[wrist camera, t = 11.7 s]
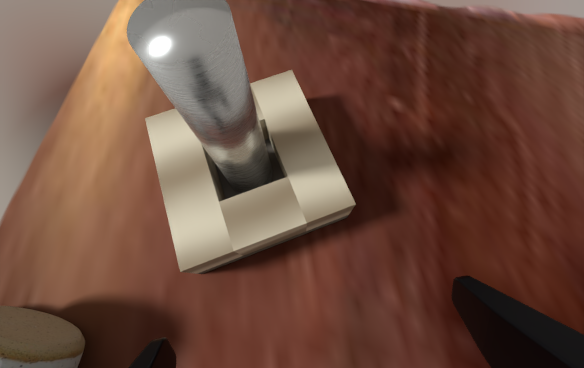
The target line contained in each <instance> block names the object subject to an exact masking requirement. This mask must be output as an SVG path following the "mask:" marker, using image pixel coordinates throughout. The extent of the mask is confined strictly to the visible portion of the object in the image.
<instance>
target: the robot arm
mask: <svg viewBox="0 0 584 368" xmlns="http://www.w3.org/2000/svg"><path fill="white" fill-rule="evenodd" d="M452 301H453V304H454V306H455V307H456V309H457V311H458V313H459V315H460V316H461V318H462V320H463V322H464V323H465V325H466V327H467V329H468V330H469V332H470V334H471V336H472V337H473V339H474V341H475V343H476V344H477V346H478V348H479V350H480V351H481V353H482V354H483V356H484V357H485V359H486V360H487V362H488V363H489V365H490V366H491V368H584V335H583V334H581V333H579V332H577V331H575V330H573V329H571V328H570V327H568V326H566V325H564V324H562V323H560V322H558V321H556V320H554V319H552V318H550V317H548V316H546V315H544V314H542V313H540V312H538V311H536V310H535V309H533V308H531V307H529V306H527V305H525V304H523V303H521V302H519V301H517V300H515V299H513V298H511V297H509V296H507V295H505V294H503V293H502V292H500V291H498V290H496V289H494V288H492V287H490V286H488V285H486V284H484V283H482V282H480V281H478V280H476V279H474V278H472V277H470V276H461V277H456V278H455V279H454V281H453V288H452ZM129 368H176V354H175V352H174V350H173V348H172V346H171V344H170V342H169V341H168V339H167V338H159V339H154V340H152V341H151V342H150V343H149V344H148V345H147V346H146V347H145V348H144V350H143V351H142V352H141V353H140V354H139V356H138V357H137V358H136V359H135V360H134V362H133V363H132V364H131V365H130V366H129Z"/></svg>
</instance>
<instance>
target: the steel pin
mask: <svg viewBox="0 0 584 368" xmlns="http://www.w3.org/2000/svg"><path fill="white" fill-rule="evenodd" d="M127 36H128V40H129V43H130V45H131V46H132V48H133V49H134V51H135V52H136V54H137V55H138V56H139V58H140V59H141V61H142V62H143V63H144V65H145V66H146V68H147V69H148V70H149V72H150V73H151V75H152V76H153V77H154V79H155V80H156V81H157V83H158V84H159V86H160V87H161V88H162V90H163V91H164V93H165V94H166V95H167V97H168V98H169V100H170V101H171V102H172V104H173V105H174V107H175V108H176V109H177V111H178V112H179V114H180V115H181V116H182V118H183V119H184V120H185V122H186V123H187V125H188V126H189V127H190V129H191V130H192V132H193V133H194V134H195V136H196V137H197V139H198V140H199V141H200V143H201V144H202V146H203V147H204V148H205V150H206V151H207V152H208V154H209V155H210V157H211V158H212V159H213V161H214V162H215V164H216V165H217V166H218V168H219V169H220V171H221V172H222V173H223V175H224V176H225V178H226V179H227V180H228V182H229V183H230V185H231V186H232V187H233V188H234V189H235V190H236V191H237V192H239V193H241V194H242V193H244V192H247V191H250V190H253V189H255V188H258V187H261V186H263V185H266V184H269V183H270V182H271V180H272V175H273V171H272V167H271V163H270V159H269V155H268V151H267V147H266V144H265V140H264V136H263V132H262V128H261V125H260V121H259V117H258V113H257V109H256V106H255V102H254V98H253V94H252V90H251V87H250V83H249V79H248V75H247V71H246V67H245V64H244V60H243V56H242V52H241V48H240V45H239V41H238V37H237V33H236V29H235V26H234V22H233V18H232V14H231V10H230V8H229V5H228V4H227V2H226V1H225V0H144V1H143V2H142V3H141V4H140V5H139V6H138V7H137V8H136V9H135V11H134V12H133V14H132V15H131V17H130V19H129V22H128V26H127Z"/></svg>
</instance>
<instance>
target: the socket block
mask: <svg viewBox="0 0 584 368" xmlns="http://www.w3.org/2000/svg"><path fill="white" fill-rule="evenodd" d="M250 87H251V90H252V94H253V98H254V102H255V106H256V109H257V113H258V117H259V121H260V125H261V128H262V132H263V136H264V140H265V144H266V147H267V151H268V155H269V159H270V163H271V167H272V171H273V175H272V180H271V182H270V183H269V184H266V185H263V186H261V187H258V188H255V189H253V190H250V191H247V192H244V193H242V194H241V193H239V192H237V191H236V190H235V189H234V188H233V187H232V186H231V185H230V183H229V182H228V180H227V179H226V178H225V176H224V175H223V173H222V172H221V171H220V169H219V168H218V166H217V165H216V164H215V162H214V161H213V159H212V158H211V157H210V155H209V154H208V152H207V151H206V150H205V148H204V147H203V146H202V144H201V143H200V141H199V140H198V139H197V137H196V136H195V134H194V133H193V132H192V130H191V129H190V127H189V126H188V125H187V123H186V122H185V120H184V119H183V118H182V116H181V115H180V114H179V112H178V111H177V109H176V108H175V109H172V110H169V111H166V112H163V113H160V114H157V115H154V116H151V117H148V118H145V120H146V124H147V128H148V133H149V137H150V142H151V146H152V150H153V155H154V159H155V163H156V168H157V172H158V176H159V181H160V185H161V190H162V194H163V198H164V203H165V207H166V211H167V216H168V220H169V225H170V229H171V233H172V238H173V242H174V246H175V251H176V255H177V259H178V264H179V268H180V272H187V273H197V274H203V273H206V272H209V271H211V270H214V269H216V268H219V267H221V266H224V265H227V264H229V263H232V262H234V261H237V260H239V259H242V258H245V257H247V256H250V255H252V254H255V253H257V252H260V251H263V250H265V249H268V248H270V247H273V246H275V245H278V244H281V243H283V242H286V241H288V240H291V239H293V238H296V237H299V236H301V235H304V234H306V233H309V232H311V231H314V230H317V229H319V228H322V227H324V226H327V225H329V224H332V223H335V222H337V221H340V220H342V219H345V218H347V217H348V215H349V214H350V212H351V211H352V209H353V208H354V206H355V205H356V203H355V201H354V199H353V197H352V195H351V193H350V191H349V189H348V187H347V184H346V182H345V180H344V178H343V176H342V174H341V172H340V170H339V168H338V166H337V164H336V162H335V159H334V157H333V155H332V153H331V151H330V149H329V147H328V145H327V143H326V141H325V139H324V136H323V134H322V132H321V130H320V128H319V126H318V124H317V122H316V120H315V118H314V116H313V113H312V111H311V109H310V107H309V105H308V103H307V101H306V99H305V97H304V95H303V93H302V90H301V88H300V86H299V84H298V82H297V80H296V78H295V76H294V74H293V72H292V70H290V71H287V72H284V73H281V74H278V75H275V76H272V77H269V78H266V79H263V80H260V81H257V82H254V83H251V84H250Z"/></svg>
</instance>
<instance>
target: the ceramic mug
mask: <svg viewBox="0 0 584 368" xmlns="http://www.w3.org/2000/svg"><path fill="white" fill-rule="evenodd" d="M84 347H85V340H84V337H83V335H82V333H81V331H80V330H79V329H78V328H77V327H76V326H74V325H73V324H72V323H70V322H68V321H66V320H64V319H62V318H59V317H57V316H54V315H51V314H48V313H44V312H40V311H36V310H32V309H27V308H20V307H12V306H0V368H78V365H79V362H80V360H81V357H82V354H83V351H84Z"/></svg>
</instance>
